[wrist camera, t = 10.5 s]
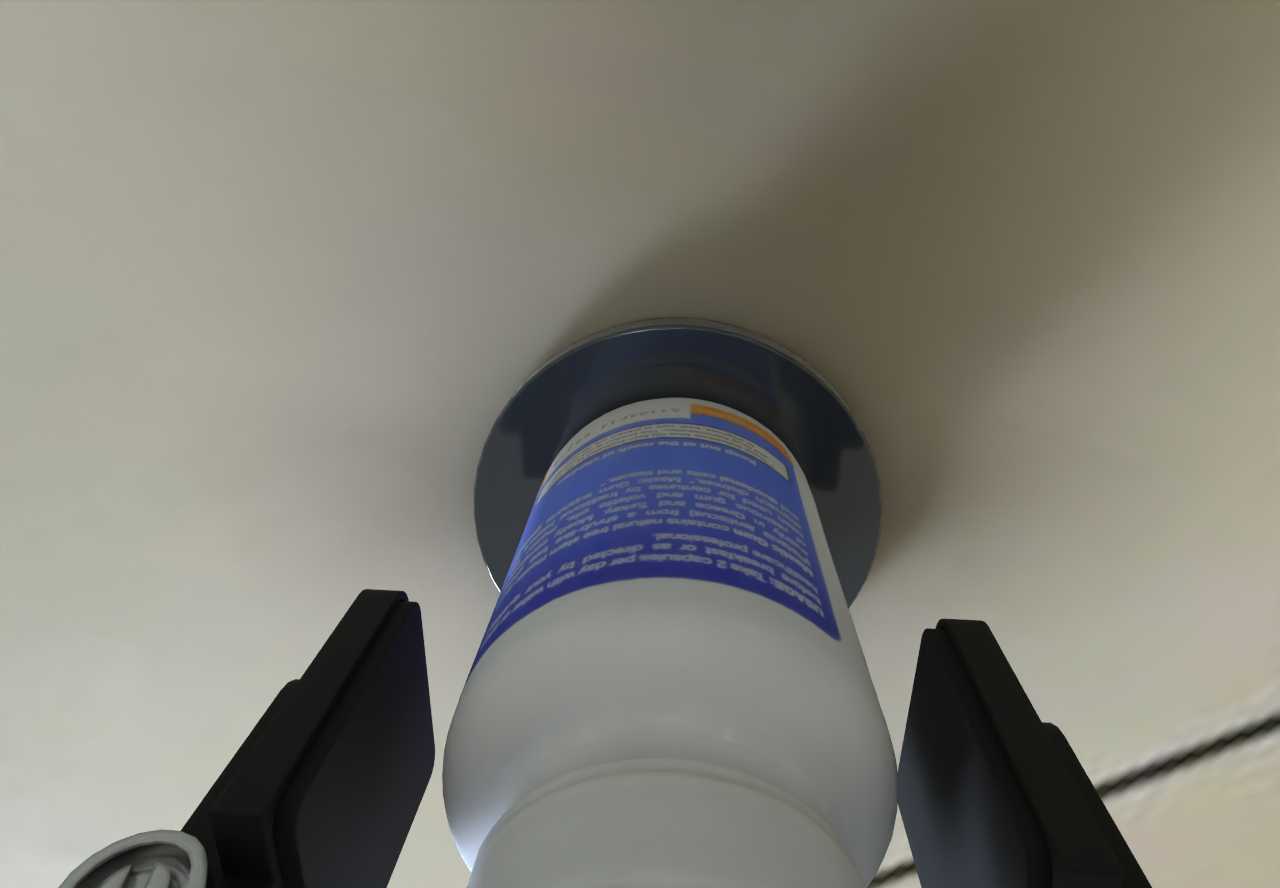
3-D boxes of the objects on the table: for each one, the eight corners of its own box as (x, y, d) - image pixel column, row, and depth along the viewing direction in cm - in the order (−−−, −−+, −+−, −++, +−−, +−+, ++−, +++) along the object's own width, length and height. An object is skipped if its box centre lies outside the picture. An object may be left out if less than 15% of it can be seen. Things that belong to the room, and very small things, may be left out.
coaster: (467, 310, 15) (458, 318, 15) (903, 324, 15) (910, 332, 14) (491, 661, 18) (484, 679, 18) (851, 682, 18) (856, 700, 17)
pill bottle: (485, 478, 16) (209, 962, 7) (724, 334, 15) (766, 705, 6) (639, 676, 17) (575, 1276, 9) (868, 562, 16) (1080, 1140, 7)
